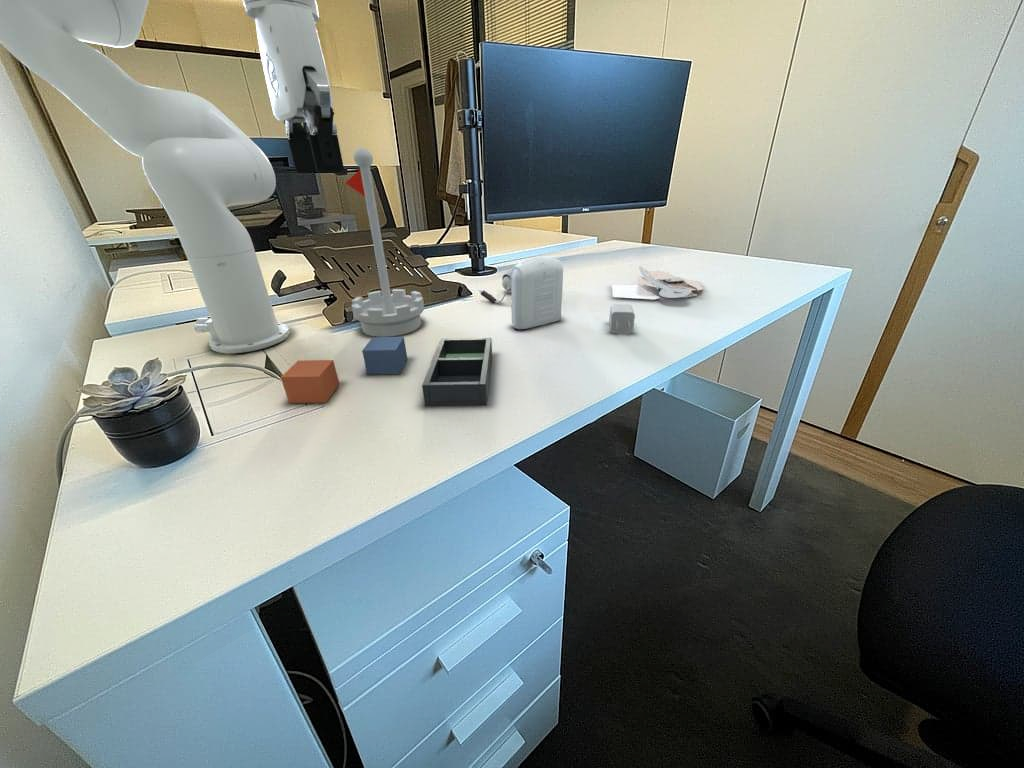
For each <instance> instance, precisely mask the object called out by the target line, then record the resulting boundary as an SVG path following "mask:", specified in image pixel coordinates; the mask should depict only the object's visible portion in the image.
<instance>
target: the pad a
mask: <svg viewBox="0 0 1024 768" xmlns="http://www.w3.org/2000/svg"><path fill="white" fill-rule="evenodd" d="M280 380H281V382H282V386H283V389H284V392H285V395H286V398H287V401H288V404H325V403H327V402H328V401H329V400H330V398H331V397H332V396H333V394H334V393H335V391H336V390H337V389H338V388H339V386H340V381H339V377H338V373H337V369H336V365H335V360H334V359H309V360H308V359H307V360H306V359H305V360H301V359H300V360H297V361H296V362H295V363H294V364H292V365H291V366H290V368H288V370H286V371H285V372H284V373H283V374H282V375H281V376H280Z"/></svg>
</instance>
